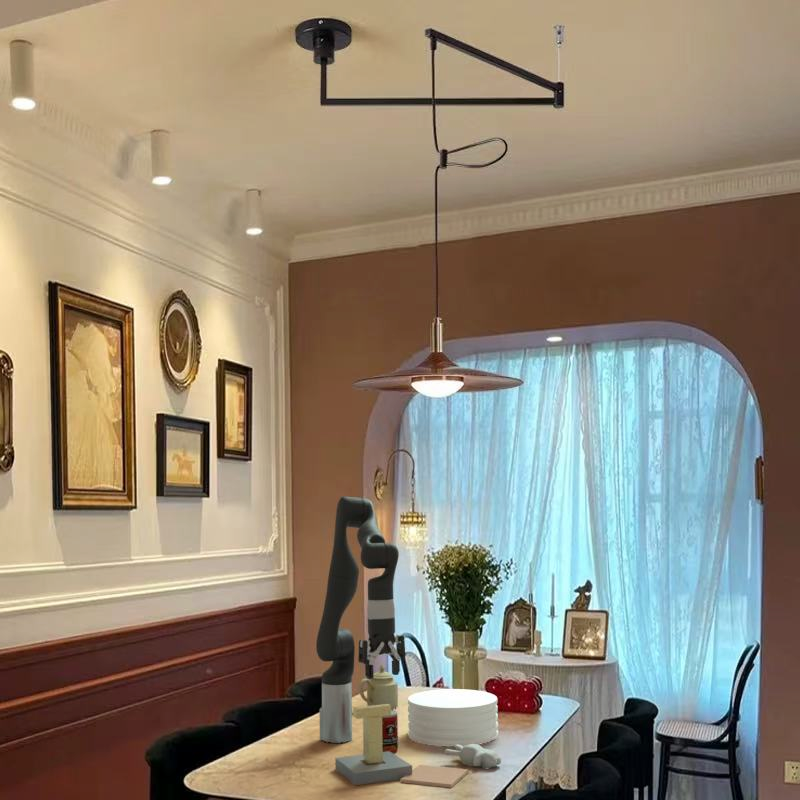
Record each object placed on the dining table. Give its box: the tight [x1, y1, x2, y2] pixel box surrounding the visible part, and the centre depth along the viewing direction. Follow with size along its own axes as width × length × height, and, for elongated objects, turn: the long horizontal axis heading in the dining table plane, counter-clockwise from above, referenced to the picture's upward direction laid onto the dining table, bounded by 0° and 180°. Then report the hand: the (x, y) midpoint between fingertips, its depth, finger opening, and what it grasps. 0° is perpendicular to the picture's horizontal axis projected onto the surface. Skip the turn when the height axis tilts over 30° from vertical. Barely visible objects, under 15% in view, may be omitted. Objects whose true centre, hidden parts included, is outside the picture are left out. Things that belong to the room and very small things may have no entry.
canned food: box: [382, 709, 399, 754], centre depth 272 cm, size 8×8×11 cm
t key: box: [353, 704, 392, 766], centre depth 250 cm, size 10×4×18 cm, turn 113°
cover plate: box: [334, 751, 413, 786], centre depth 249 cm, size 16×16×3 cm
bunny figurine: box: [444, 744, 502, 769], centre depth 256 cm, size 10×5×15 cm
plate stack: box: [407, 688, 499, 747], centre depth 289 cm, size 28×28×12 cm
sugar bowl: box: [358, 664, 399, 710], centre depth 329 cm, size 15×11×15 cm
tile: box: [400, 764, 469, 788], centre depth 244 cm, size 14×14×1 cm
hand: (382, 676), depth 252 cm, fingers open, 8 cm apart
